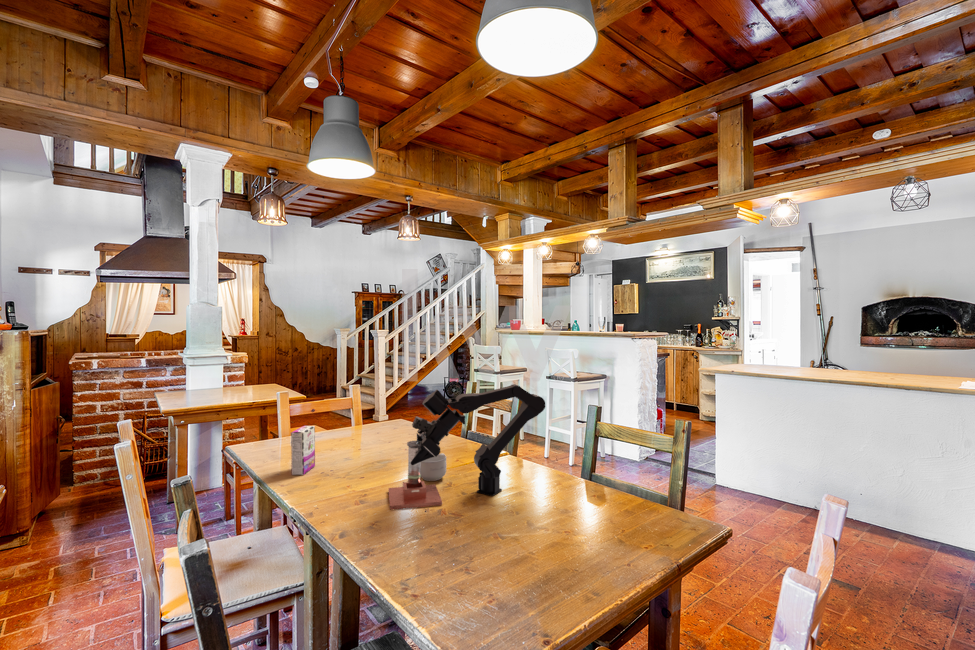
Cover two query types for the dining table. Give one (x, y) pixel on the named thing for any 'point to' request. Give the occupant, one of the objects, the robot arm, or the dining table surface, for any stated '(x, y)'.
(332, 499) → the dining table surface
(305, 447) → the candy bar box
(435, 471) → the teacup
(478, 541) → the dining table surface
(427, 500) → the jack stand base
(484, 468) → the robot arm
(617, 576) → the dining table surface
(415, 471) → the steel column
